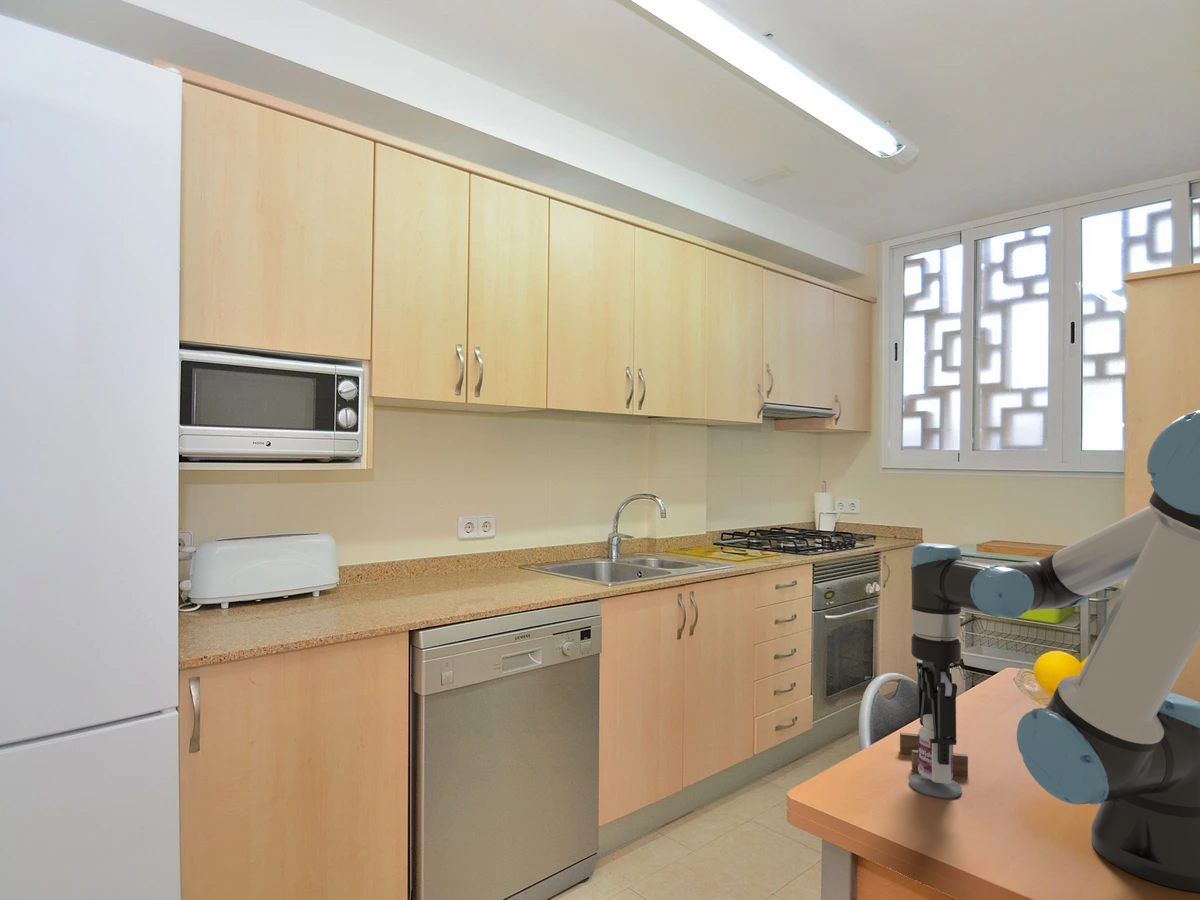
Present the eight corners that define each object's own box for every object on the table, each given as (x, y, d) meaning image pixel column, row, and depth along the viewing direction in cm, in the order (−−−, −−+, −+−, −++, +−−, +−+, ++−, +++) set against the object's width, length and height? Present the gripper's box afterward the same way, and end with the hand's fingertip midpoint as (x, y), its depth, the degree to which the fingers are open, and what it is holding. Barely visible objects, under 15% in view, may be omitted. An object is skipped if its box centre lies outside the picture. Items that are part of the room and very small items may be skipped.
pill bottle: (914, 776, 115) (914, 718, 116) (921, 765, 120) (921, 709, 120) (950, 785, 112) (950, 726, 112) (956, 774, 116) (956, 717, 117)
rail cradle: (967, 776, 120) (967, 756, 120) (913, 771, 122) (913, 752, 122) (950, 755, 129) (950, 736, 129) (899, 751, 130) (899, 732, 131)
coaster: (969, 800, 111) (969, 797, 111) (916, 796, 113) (916, 792, 113) (952, 778, 119) (952, 775, 119) (903, 774, 120) (903, 771, 120)
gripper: (980, 650, 107) (980, 801, 106) (941, 624, 125) (941, 753, 124) (928, 648, 108) (928, 797, 107) (898, 622, 126) (897, 749, 126)
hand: (935, 773), depth 116 cm, fingers closed on pill bottle, 5 cm apart
